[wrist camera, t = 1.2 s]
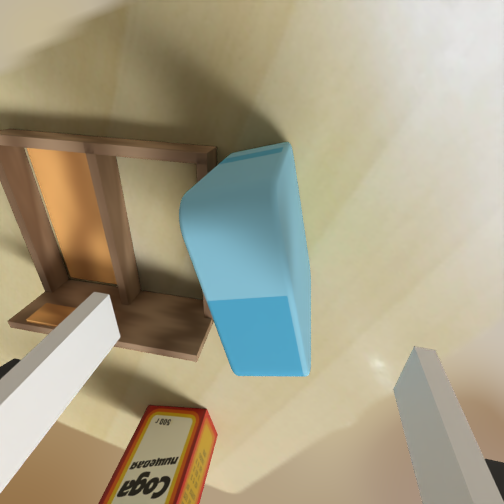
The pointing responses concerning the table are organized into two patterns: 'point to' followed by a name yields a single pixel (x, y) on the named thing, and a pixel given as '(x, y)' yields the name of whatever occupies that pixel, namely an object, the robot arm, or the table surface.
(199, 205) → the blue rounded block
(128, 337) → the rack
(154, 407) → the baking soda box
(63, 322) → the robot arm
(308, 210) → the table surface
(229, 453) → the table surface
